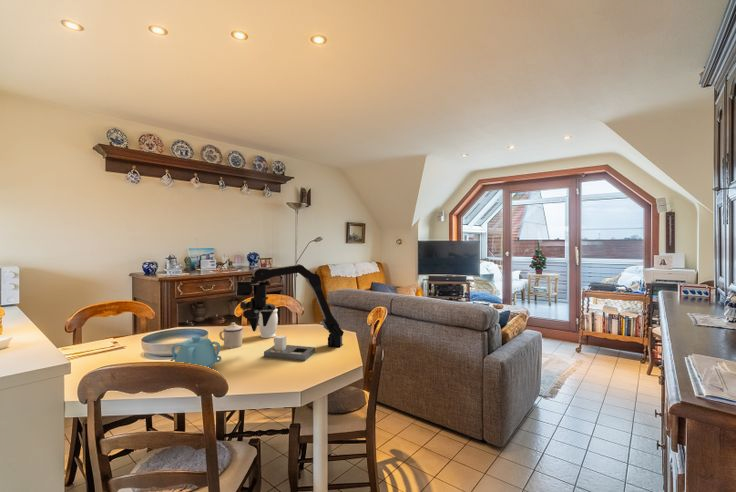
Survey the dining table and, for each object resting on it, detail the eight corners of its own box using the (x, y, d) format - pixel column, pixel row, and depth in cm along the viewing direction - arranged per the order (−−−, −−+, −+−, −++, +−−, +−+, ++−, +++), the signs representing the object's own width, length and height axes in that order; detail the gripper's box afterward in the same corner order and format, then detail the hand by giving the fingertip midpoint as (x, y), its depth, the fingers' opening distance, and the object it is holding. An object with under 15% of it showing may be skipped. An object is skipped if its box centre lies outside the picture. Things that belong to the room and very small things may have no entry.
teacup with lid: (245, 343, 177) (246, 321, 177) (236, 349, 168) (236, 325, 168) (224, 342, 179) (224, 320, 179) (214, 347, 170) (214, 324, 170)
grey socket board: (315, 353, 163) (315, 347, 163) (305, 362, 151) (305, 355, 151) (276, 350, 167) (276, 343, 167) (263, 358, 156) (263, 351, 156)
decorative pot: (224, 369, 142) (225, 336, 142) (183, 380, 130) (184, 345, 130) (206, 360, 153) (207, 329, 153) (167, 370, 141) (167, 337, 140)
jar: (274, 339, 186) (274, 311, 186) (255, 338, 186) (255, 311, 186) (279, 333, 197) (280, 307, 196) (262, 333, 197) (262, 307, 197)
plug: (286, 352, 162) (286, 336, 162) (282, 355, 158) (282, 338, 158) (277, 352, 163) (277, 335, 163) (272, 354, 159) (273, 337, 159)
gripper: (254, 291, 170) (254, 323, 170) (232, 297, 152) (232, 332, 152) (275, 292, 167) (275, 324, 168) (255, 298, 149) (254, 334, 149)
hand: (259, 328), depth 159 cm, fingers open, 9 cm apart
